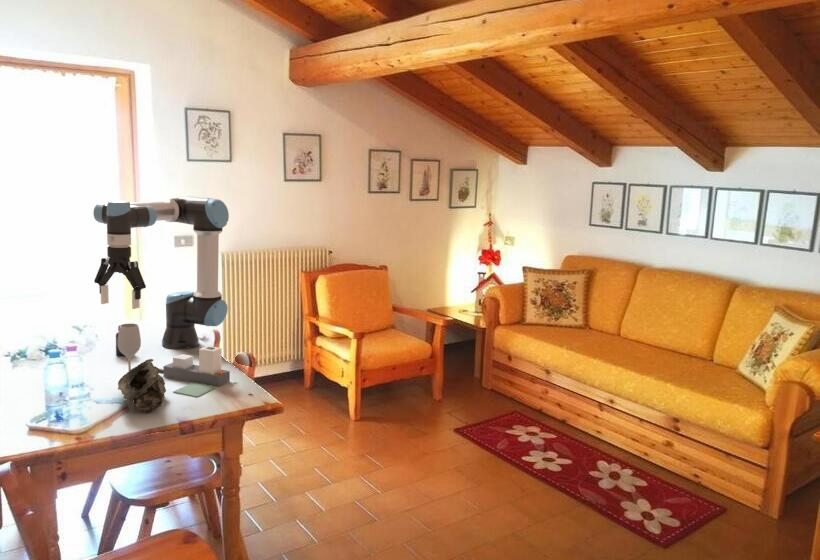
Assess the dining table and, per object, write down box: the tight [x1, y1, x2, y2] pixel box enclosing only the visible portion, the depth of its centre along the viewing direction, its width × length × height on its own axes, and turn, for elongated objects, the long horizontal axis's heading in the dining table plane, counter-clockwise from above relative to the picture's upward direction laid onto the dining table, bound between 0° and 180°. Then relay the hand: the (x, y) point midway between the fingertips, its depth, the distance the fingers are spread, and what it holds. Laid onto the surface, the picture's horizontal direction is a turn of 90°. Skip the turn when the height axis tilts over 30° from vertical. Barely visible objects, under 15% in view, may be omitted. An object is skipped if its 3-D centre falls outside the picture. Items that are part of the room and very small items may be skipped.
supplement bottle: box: [115, 325, 127, 358], centre depth 261 cm, size 7×7×12 cm
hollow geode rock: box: [117, 358, 167, 414], centre depth 211 cm, size 28×13×15 cm
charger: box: [198, 345, 222, 375], centre depth 235 cm, size 5×6×10 cm
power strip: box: [157, 362, 231, 388], centre depth 239 cm, size 31×7×4 cm, turn 71°
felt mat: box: [172, 382, 218, 398], centre depth 227 cm, size 11×10×1 cm
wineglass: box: [117, 322, 142, 372], centre depth 229 cm, size 8×8×21 cm
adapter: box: [172, 353, 194, 370], centre depth 239 cm, size 5×5×5 cm
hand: (120, 305), depth 226 cm, fingers open, 13 cm apart
